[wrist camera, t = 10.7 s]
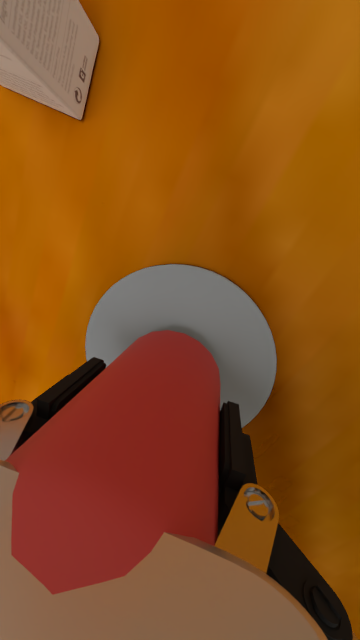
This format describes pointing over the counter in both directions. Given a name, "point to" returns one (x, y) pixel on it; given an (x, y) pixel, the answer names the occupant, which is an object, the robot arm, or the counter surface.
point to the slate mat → (191, 326)
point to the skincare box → (48, 52)
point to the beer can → (121, 466)
